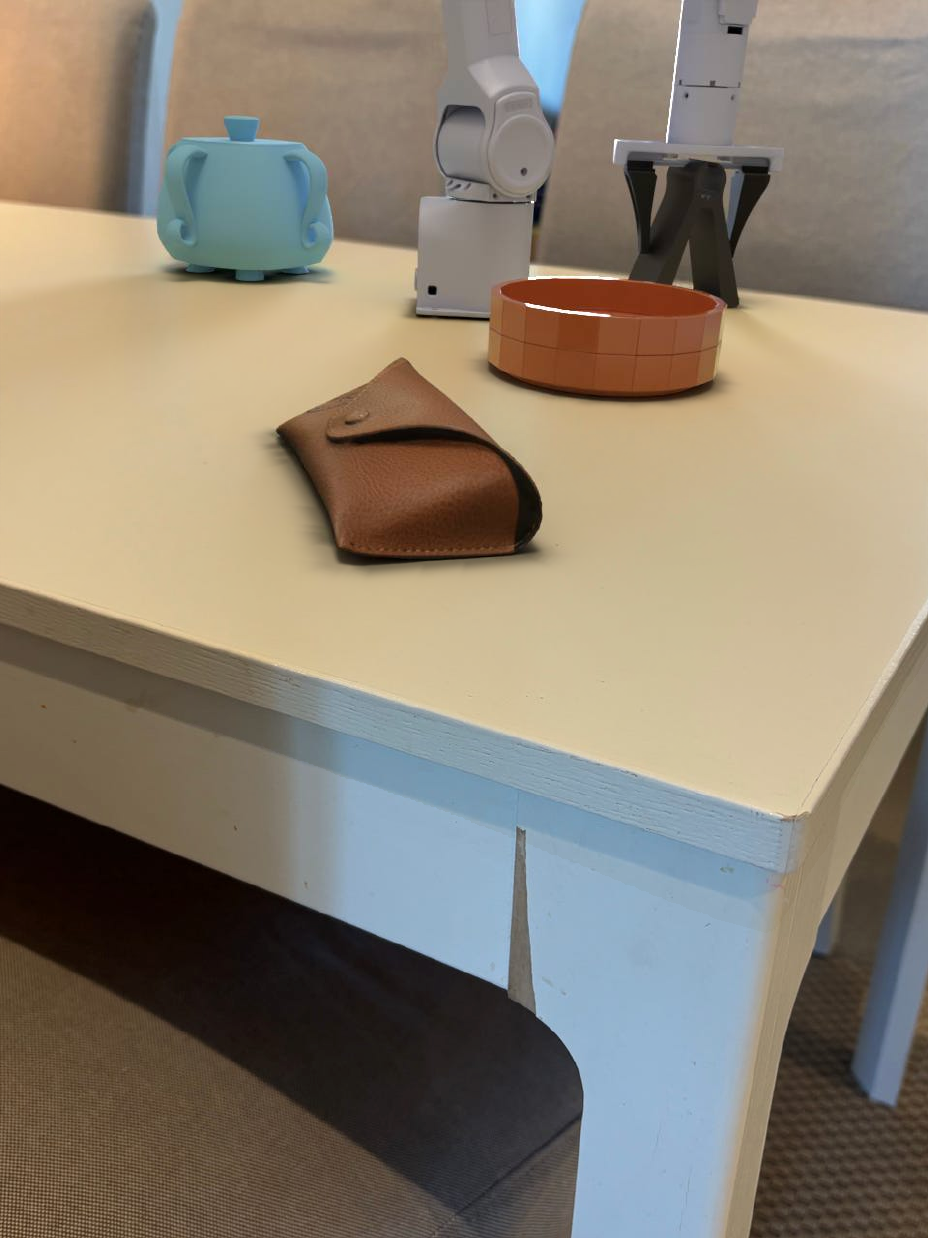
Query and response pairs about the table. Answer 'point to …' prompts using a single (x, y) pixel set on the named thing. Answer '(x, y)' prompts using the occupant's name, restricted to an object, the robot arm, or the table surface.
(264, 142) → the decorative pot
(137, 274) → the table surface
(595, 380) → the bowl
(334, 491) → the sunglasses case
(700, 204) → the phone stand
